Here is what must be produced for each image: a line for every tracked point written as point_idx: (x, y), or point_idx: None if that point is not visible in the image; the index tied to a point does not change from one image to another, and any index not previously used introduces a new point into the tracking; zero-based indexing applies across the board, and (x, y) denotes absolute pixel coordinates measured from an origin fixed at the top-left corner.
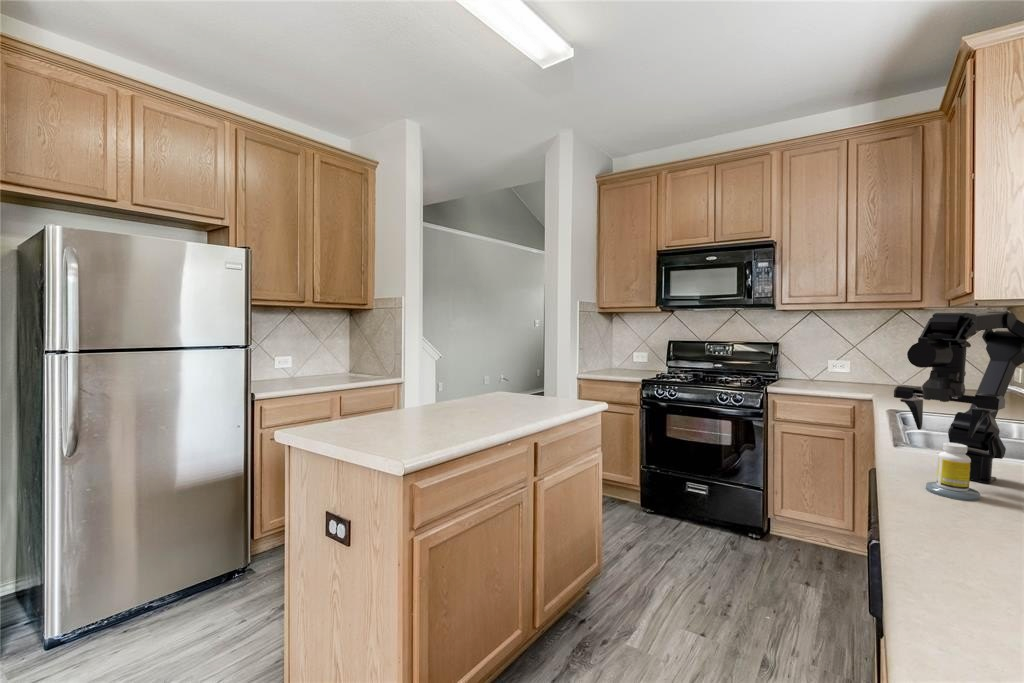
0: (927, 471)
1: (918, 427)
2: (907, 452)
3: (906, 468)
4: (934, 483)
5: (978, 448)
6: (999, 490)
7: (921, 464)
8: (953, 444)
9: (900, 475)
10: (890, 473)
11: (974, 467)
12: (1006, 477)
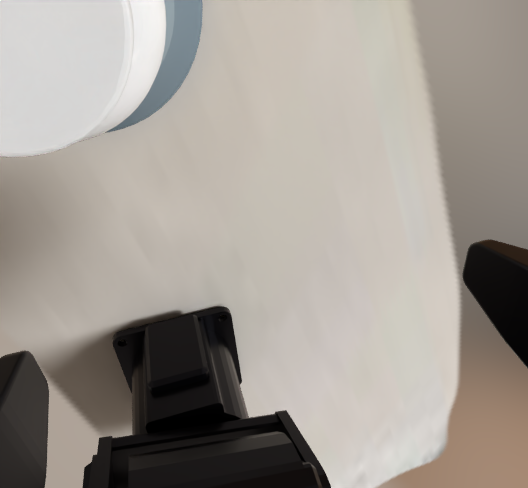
0: (310, 282)
1: (498, 245)
2: (418, 416)
3: (371, 244)
4: (169, 5)
5: (154, 451)
6: (41, 296)
7: (353, 343)
8: (4, 11)
9: (354, 100)
10: (392, 88)
11: (161, 359)
12: None
